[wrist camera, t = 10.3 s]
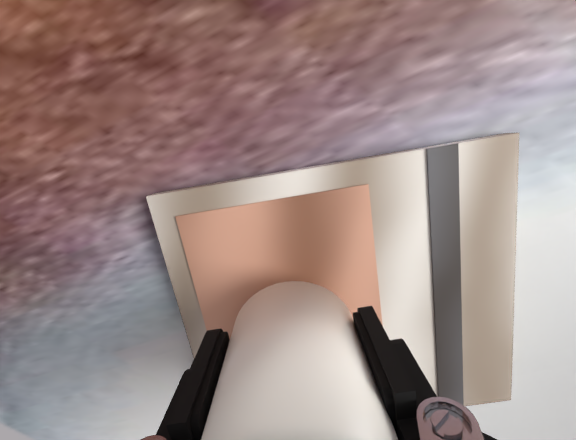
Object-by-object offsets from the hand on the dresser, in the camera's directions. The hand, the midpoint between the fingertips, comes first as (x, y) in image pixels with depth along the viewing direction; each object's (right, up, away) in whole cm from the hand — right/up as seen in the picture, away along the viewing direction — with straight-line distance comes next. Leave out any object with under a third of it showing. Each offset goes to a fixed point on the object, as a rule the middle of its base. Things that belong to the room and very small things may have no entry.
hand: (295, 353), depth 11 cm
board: (+2, +1, +3) cm, 4 cm away
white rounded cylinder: (0, 0, +1) cm, 1 cm away
